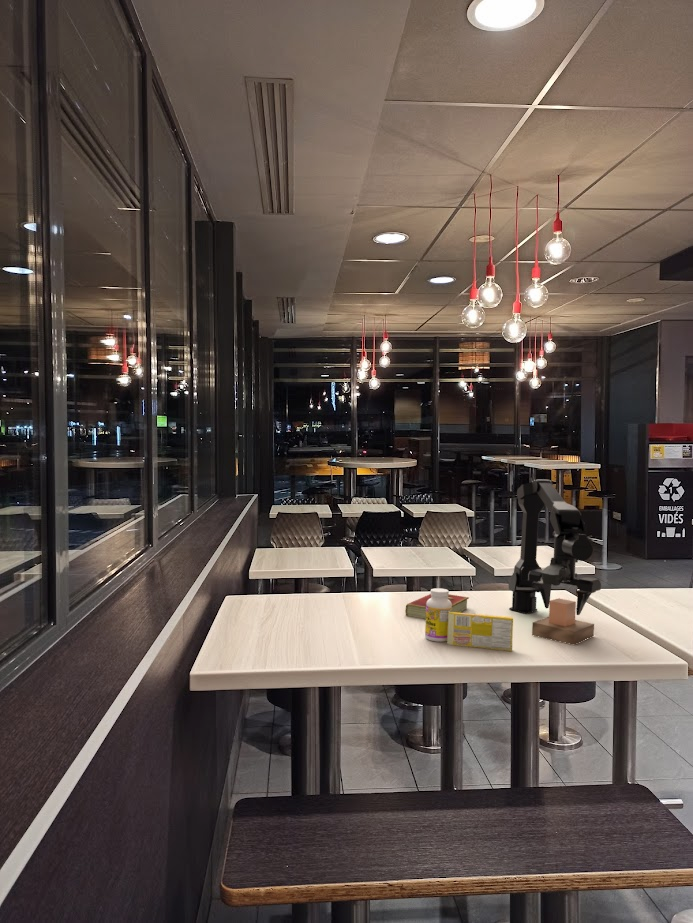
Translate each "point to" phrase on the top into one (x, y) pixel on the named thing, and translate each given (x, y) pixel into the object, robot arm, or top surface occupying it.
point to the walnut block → (563, 631)
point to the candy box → (480, 631)
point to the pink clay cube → (562, 612)
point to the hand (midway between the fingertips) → (562, 611)
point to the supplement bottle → (437, 615)
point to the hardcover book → (419, 606)
